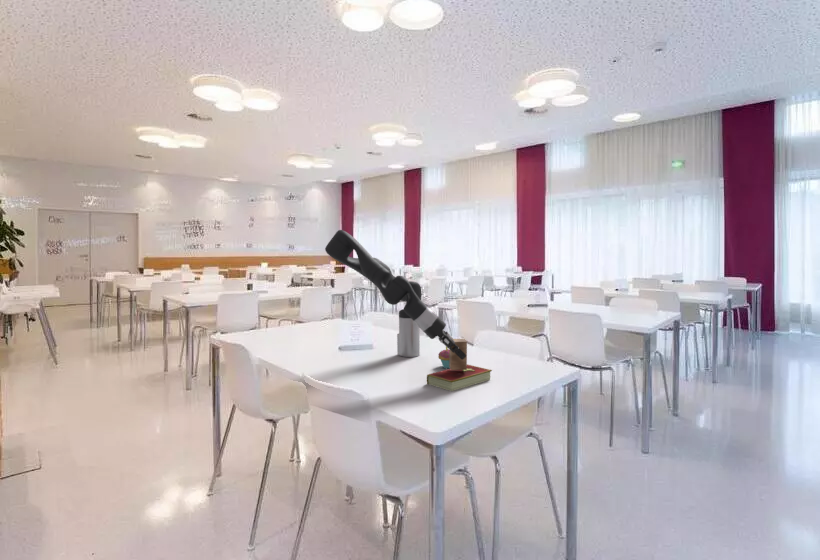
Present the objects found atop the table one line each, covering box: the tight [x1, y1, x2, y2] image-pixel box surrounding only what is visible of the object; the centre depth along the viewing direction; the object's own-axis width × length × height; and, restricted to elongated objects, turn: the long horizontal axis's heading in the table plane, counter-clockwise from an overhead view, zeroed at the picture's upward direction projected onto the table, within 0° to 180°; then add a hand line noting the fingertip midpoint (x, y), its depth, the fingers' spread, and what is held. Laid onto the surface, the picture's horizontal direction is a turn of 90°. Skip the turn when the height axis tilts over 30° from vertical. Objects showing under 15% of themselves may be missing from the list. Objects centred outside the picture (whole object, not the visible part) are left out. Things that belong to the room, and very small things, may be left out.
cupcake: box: [437, 346, 450, 369], centre depth 183 cm, size 9×8×12 cm
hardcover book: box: [426, 363, 493, 392], centre depth 162 cm, size 12×21×4 cm, turn 131°
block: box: [449, 338, 468, 370], centre depth 162 cm, size 6×6×10 cm
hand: (462, 355), depth 162 cm, fingers closed on block, 5 cm apart
